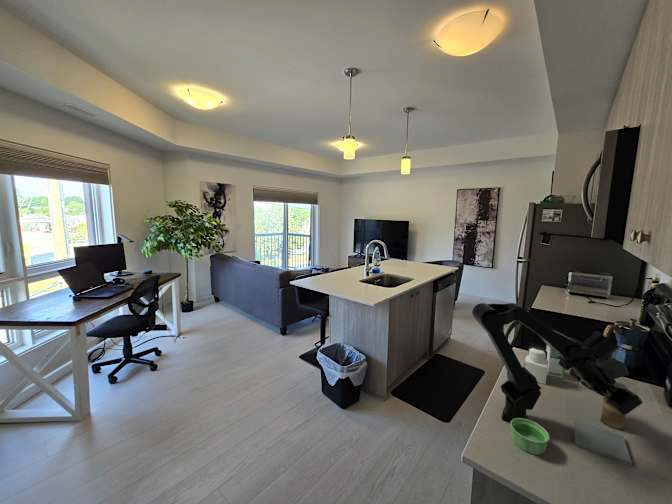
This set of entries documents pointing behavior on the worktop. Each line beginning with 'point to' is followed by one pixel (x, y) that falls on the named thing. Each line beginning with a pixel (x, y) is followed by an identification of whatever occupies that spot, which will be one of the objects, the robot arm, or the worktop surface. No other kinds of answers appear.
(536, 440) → the ramekin
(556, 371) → the syrup box
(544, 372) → the medicine bottle
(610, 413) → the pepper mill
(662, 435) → the worktop surface
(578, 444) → the slate trivet
